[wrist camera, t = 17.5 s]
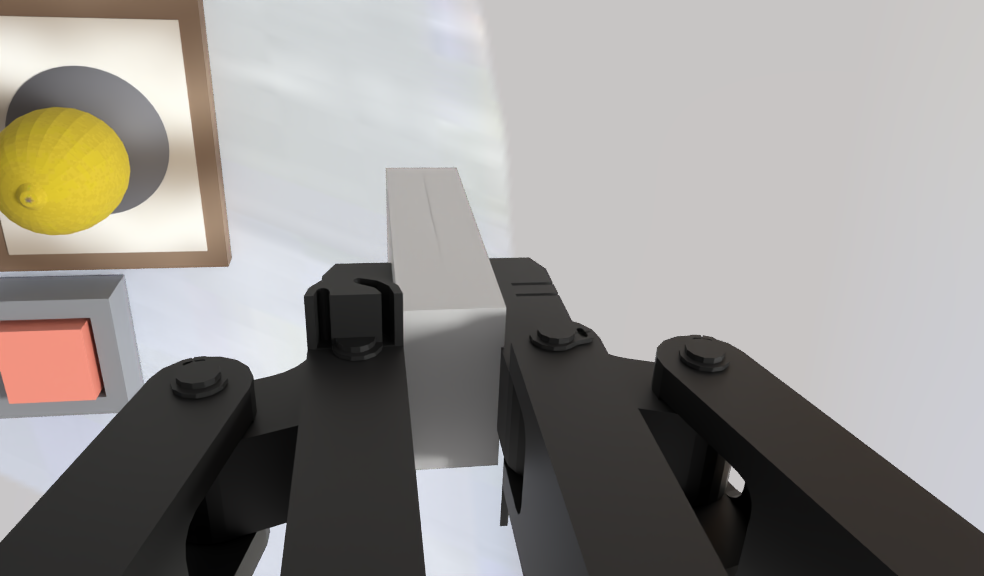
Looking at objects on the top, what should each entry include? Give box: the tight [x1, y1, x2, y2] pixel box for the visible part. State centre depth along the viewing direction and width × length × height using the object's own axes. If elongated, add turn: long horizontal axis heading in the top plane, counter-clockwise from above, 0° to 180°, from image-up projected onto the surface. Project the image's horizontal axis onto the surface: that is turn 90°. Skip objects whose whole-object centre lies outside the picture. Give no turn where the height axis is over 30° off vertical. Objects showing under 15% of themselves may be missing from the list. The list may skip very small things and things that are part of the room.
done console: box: [0, 275, 144, 419], centre depth 44 cm, size 7×7×3 cm
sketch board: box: [0, 0, 232, 272], centre depth 40 cm, size 14×12×1 cm
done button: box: [0, 318, 104, 404], centre depth 43 cm, size 4×4×2 cm
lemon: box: [0, 107, 130, 235], centre depth 36 cm, size 6×6×8 cm
